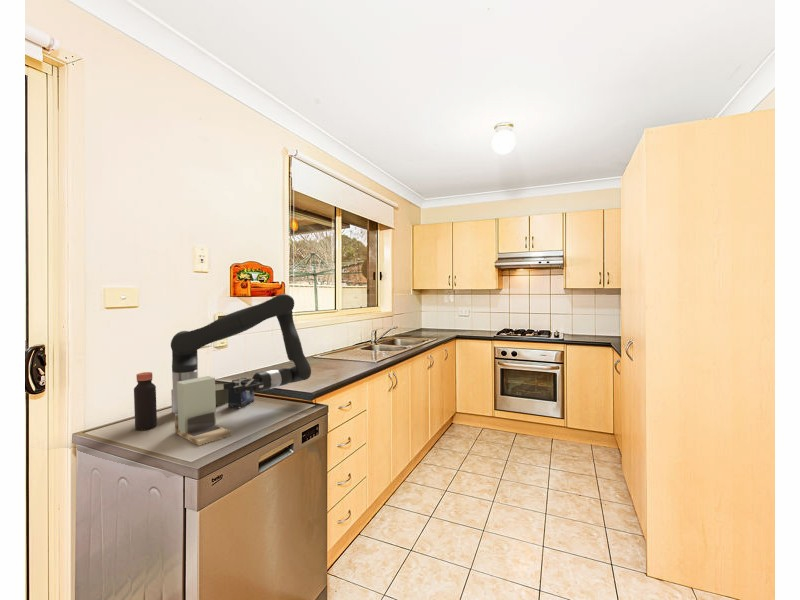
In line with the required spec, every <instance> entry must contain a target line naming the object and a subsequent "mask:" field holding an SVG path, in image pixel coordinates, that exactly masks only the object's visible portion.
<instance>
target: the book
mask: <svg viewBox="0 0 800 600" xmlns="http://www.w3.org/2000/svg"><path fill="white" fill-rule="evenodd" d="M215 384H216V378H215V377H212V376H210V375H208V376H207V375H206V376H202V377H198V378H195V379H190V380H185V381H179V382H177V400H178V430H180V431H182V432H184V433H186V432H188V419H189V418H193V417H196V416H200V415H204V414H208V413H212V412H215V424H216V425H217V406H216V397H215Z"/></svg>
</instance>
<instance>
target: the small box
mask: <svg viewBox="0 0 800 600" xmlns="http://www.w3.org/2000/svg"><path fill="white" fill-rule="evenodd" d="M241 378H242V377H240V378H239V379H241ZM245 378H246V379H247V377H245ZM236 384H237V383H236ZM241 386H242V385H241ZM252 401H253V402H254V401H255V391H254V392H249V391H248V392H245V391H244V392H240V393H235V388H230V389H228V403H227V407H228V408H236V407H241V408H243V407H245V406H247V405H249V404H251V403H253V402H252ZM250 402H251V403H250ZM248 403H249V404H248ZM246 404H247V405H246Z"/></svg>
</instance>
